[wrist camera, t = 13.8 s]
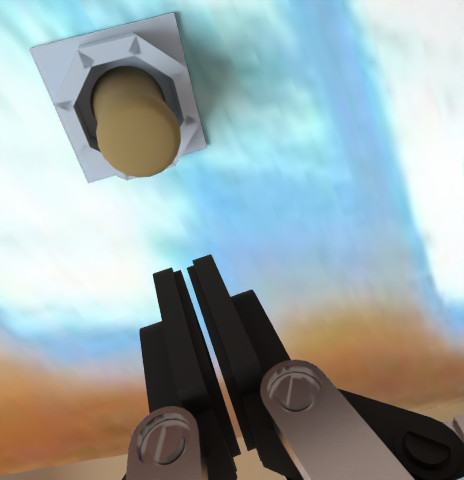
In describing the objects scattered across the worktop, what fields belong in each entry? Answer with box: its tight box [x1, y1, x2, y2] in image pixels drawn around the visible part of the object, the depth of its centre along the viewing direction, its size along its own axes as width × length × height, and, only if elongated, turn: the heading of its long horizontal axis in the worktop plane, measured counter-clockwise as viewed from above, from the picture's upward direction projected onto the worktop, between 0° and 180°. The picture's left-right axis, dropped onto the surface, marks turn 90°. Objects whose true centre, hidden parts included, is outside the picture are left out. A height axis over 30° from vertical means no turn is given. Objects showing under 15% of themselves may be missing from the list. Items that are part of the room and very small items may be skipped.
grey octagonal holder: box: [29, 13, 207, 183], centre depth 32 cm, size 11×11×4 cm
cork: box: [90, 66, 181, 178], centre depth 29 cm, size 6×6×11 cm
